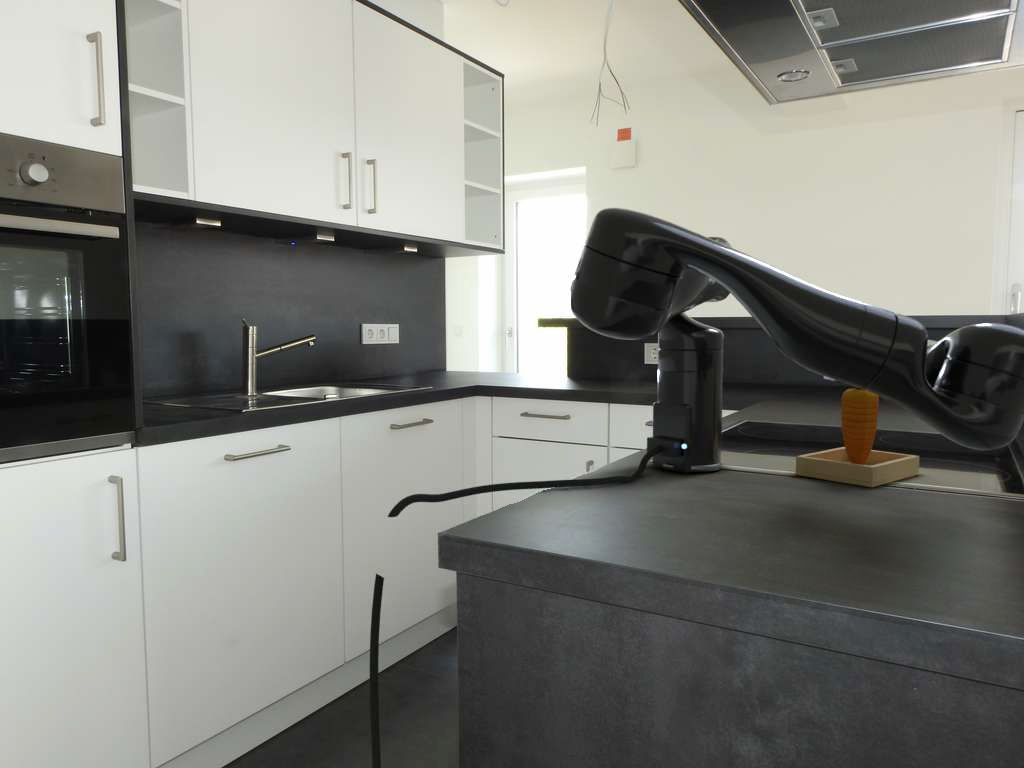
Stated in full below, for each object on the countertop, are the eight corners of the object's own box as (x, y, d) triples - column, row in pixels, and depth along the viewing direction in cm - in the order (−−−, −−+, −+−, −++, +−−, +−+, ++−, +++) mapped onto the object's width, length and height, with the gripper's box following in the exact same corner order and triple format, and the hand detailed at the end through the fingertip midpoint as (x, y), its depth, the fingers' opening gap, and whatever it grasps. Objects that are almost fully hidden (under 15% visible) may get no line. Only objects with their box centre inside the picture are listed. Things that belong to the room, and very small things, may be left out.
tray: (872, 487, 92) (873, 467, 91) (795, 474, 100) (795, 456, 100) (918, 474, 100) (919, 455, 100) (844, 463, 108) (844, 446, 108)
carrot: (868, 467, 102) (872, 361, 101) (883, 474, 97) (888, 363, 96) (832, 466, 102) (836, 361, 101) (845, 473, 97) (849, 363, 96)
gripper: (845, 408, 79) (814, 395, 94) (990, 411, 76) (933, 397, 91) (847, 339, 78) (816, 338, 94) (993, 339, 75) (936, 338, 91)
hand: (874, 367), depth 93 cm, fingers open, 8 cm apart
